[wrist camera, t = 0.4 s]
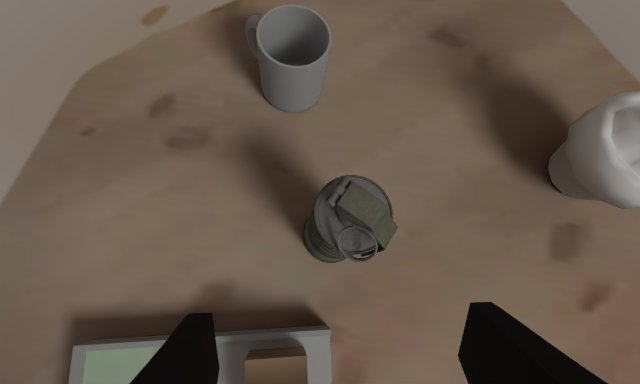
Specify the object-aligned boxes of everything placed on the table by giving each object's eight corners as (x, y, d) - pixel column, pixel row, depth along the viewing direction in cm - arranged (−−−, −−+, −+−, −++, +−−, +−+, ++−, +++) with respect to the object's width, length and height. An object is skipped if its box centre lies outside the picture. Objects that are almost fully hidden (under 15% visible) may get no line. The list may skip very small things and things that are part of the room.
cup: (296, 126, 39) (301, 82, 31) (230, 76, 40) (217, 20, 31) (332, 85, 41) (346, 33, 33) (269, 38, 42) (266, -25, 33)
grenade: (291, 241, 36) (299, 215, 21) (323, 197, 37) (350, 145, 23) (340, 276, 35) (382, 273, 21) (370, 230, 37) (427, 198, 22)
